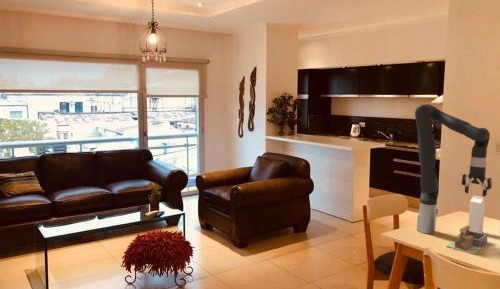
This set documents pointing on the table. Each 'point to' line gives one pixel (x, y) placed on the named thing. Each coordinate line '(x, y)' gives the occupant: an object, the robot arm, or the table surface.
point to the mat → (472, 250)
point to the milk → (476, 214)
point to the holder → (478, 238)
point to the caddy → (464, 239)
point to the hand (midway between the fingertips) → (475, 194)
